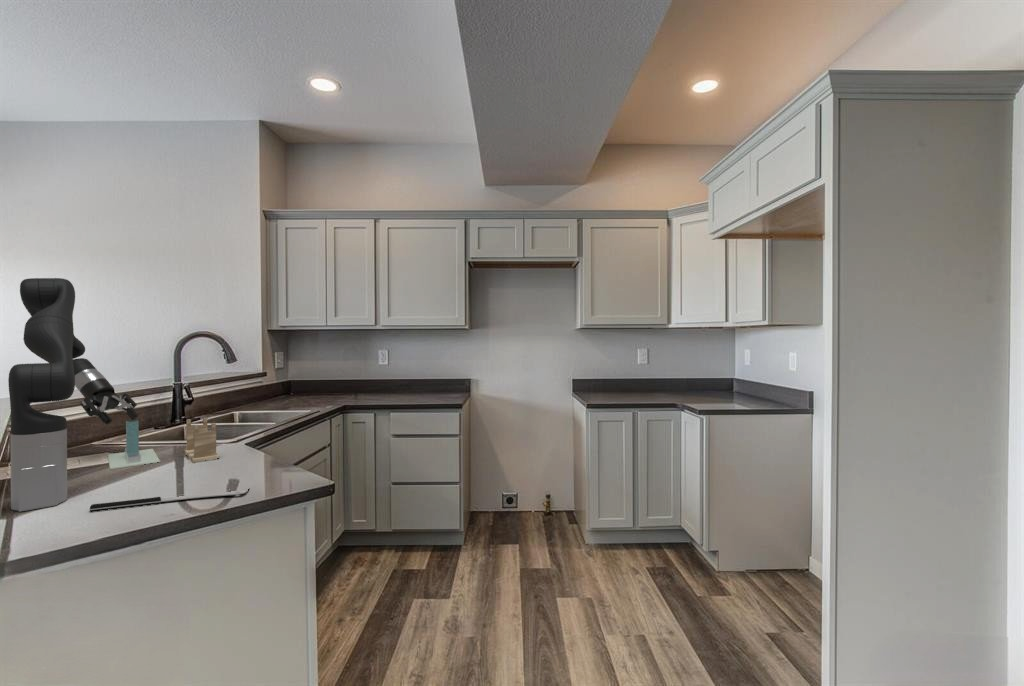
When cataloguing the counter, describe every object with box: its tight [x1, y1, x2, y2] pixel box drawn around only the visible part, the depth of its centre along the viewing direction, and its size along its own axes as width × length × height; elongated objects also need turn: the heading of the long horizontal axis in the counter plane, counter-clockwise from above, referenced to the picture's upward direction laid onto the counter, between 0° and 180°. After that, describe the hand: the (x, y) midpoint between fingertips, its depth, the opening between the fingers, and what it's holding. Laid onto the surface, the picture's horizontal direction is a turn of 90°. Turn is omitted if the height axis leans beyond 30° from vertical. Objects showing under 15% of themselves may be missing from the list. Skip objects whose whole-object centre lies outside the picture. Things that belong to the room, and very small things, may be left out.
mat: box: [107, 448, 161, 471], centre depth 149 cm, size 24×12×1 cm, turn 43°
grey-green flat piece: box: [124, 419, 141, 464], centre depth 149 cm, size 18×3×12 cm, turn 43°
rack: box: [183, 417, 220, 464], centre depth 153 cm, size 19×7×12 cm, turn 43°
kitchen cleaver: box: [89, 490, 248, 513], centre depth 110 cm, size 31×2×10 cm
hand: (123, 420), depth 150 cm, fingers open, 8 cm apart
